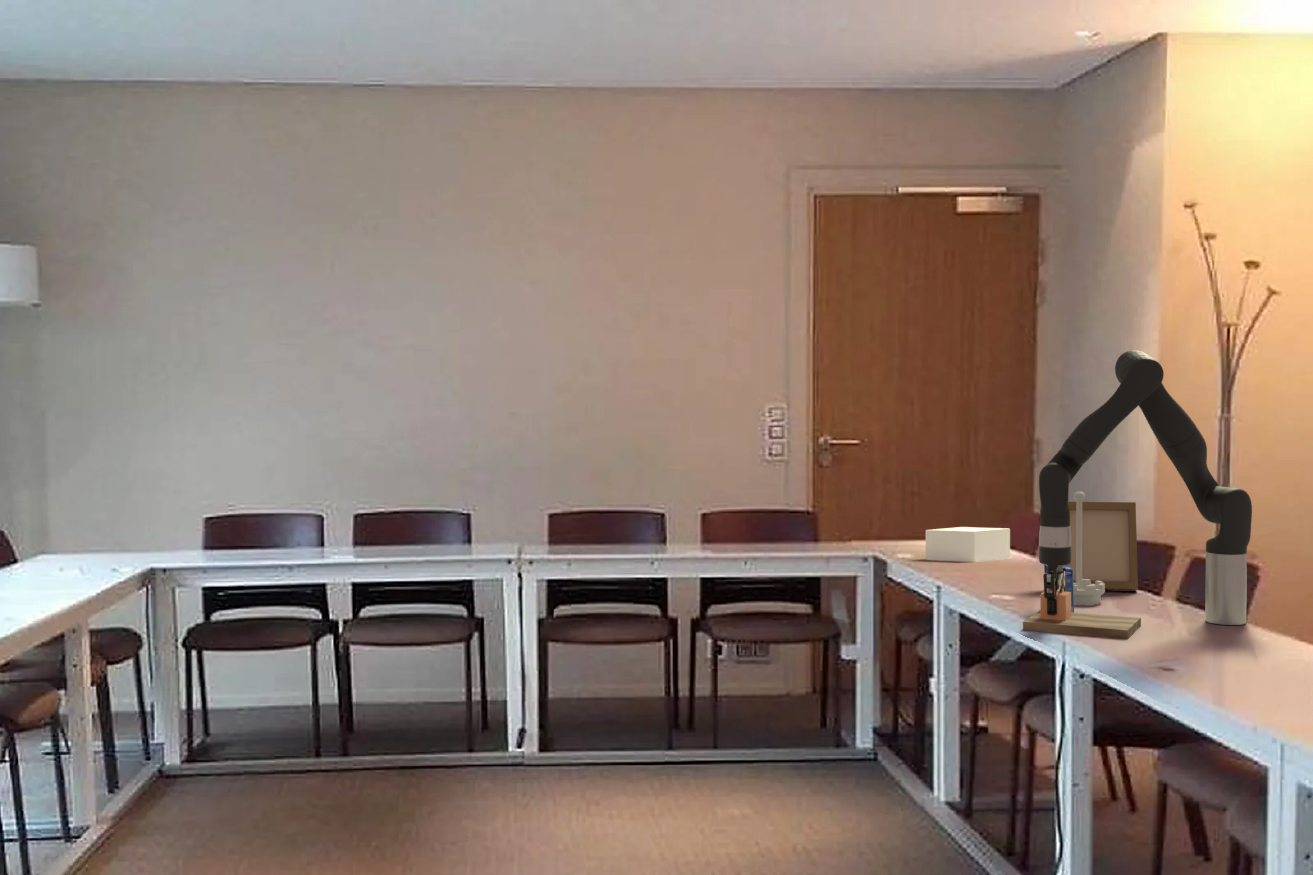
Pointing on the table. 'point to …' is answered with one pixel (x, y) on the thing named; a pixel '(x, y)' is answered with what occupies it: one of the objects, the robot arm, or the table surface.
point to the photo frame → (1107, 544)
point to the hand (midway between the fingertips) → (1055, 612)
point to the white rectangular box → (968, 544)
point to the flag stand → (1083, 587)
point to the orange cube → (1058, 606)
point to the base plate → (1085, 625)
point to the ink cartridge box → (1067, 583)
